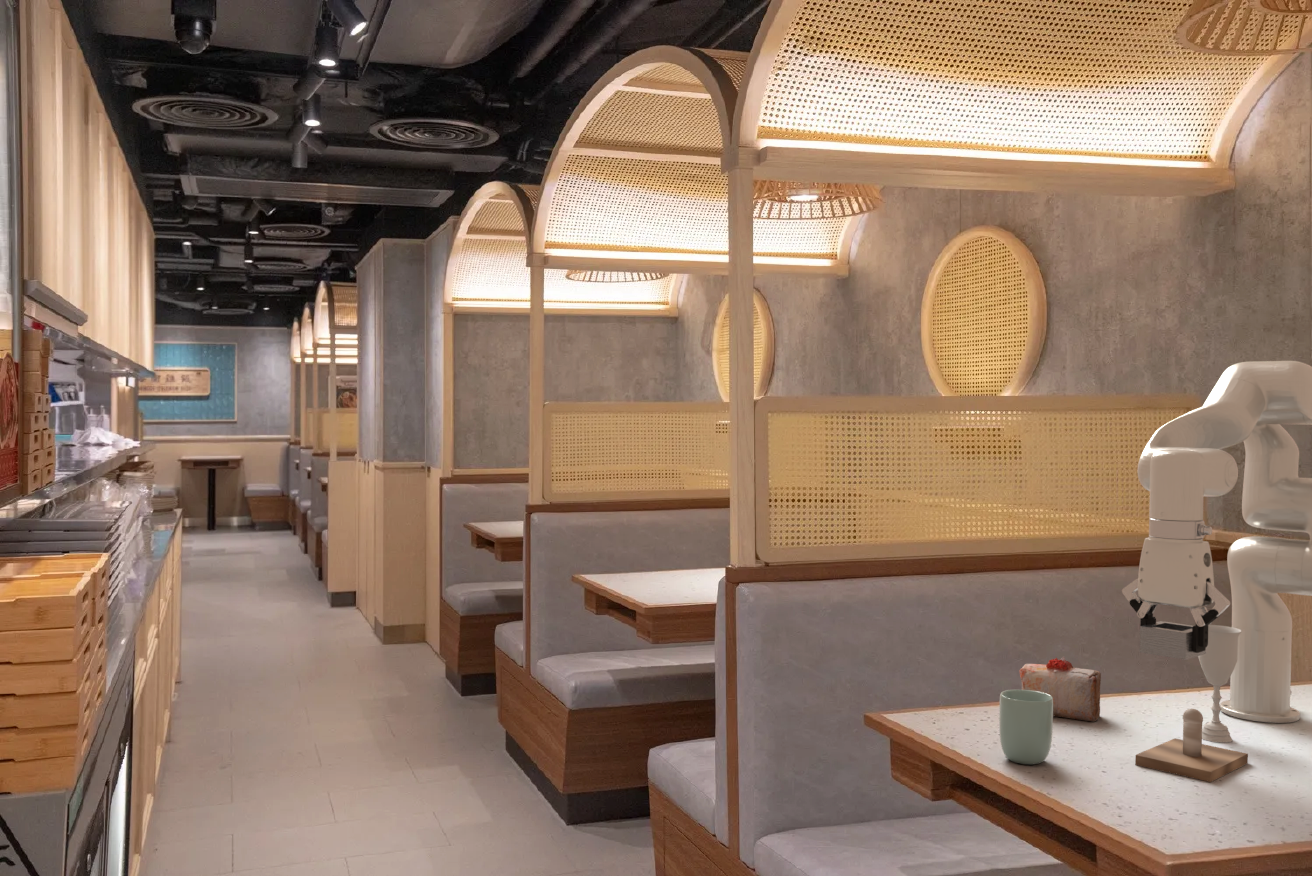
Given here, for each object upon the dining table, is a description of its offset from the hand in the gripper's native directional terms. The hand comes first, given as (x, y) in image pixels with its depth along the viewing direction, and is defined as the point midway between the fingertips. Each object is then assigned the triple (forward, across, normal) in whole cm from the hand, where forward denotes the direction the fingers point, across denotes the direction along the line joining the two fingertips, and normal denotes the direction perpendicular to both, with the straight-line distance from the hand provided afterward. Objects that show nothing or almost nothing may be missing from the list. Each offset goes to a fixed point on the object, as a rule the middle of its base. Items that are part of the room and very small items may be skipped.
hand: (1173, 646), depth 178 cm
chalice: (+18, +1, -18) cm, 26 cm away
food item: (+18, +26, -13) cm, 34 cm away
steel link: (+1, 0, 0) cm, 1 cm away
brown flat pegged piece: (+17, -3, 0) cm, 18 cm away
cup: (+18, +14, +18) cm, 29 cm away
